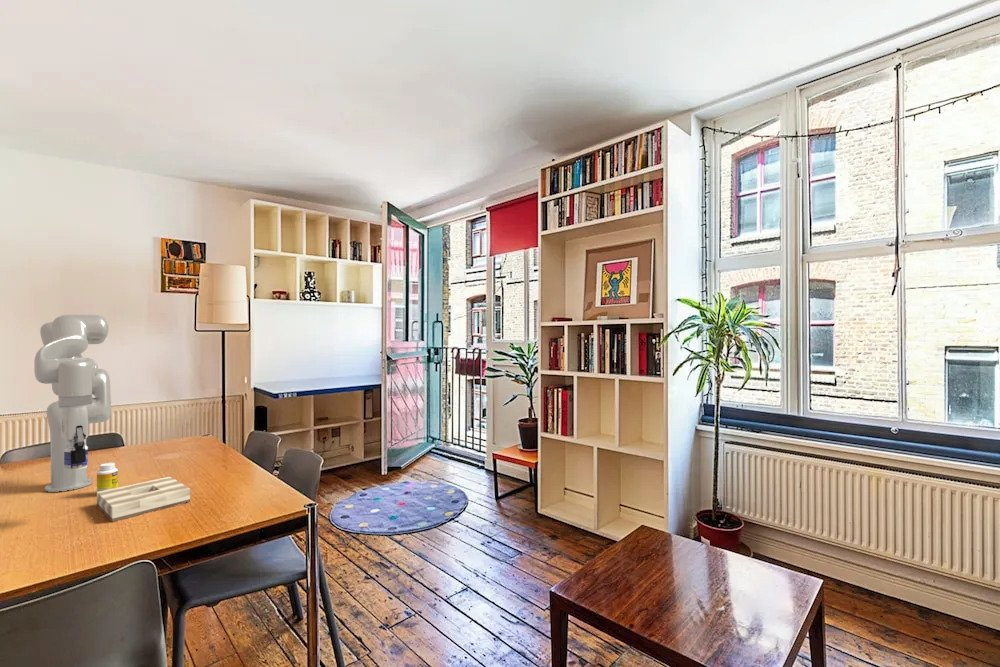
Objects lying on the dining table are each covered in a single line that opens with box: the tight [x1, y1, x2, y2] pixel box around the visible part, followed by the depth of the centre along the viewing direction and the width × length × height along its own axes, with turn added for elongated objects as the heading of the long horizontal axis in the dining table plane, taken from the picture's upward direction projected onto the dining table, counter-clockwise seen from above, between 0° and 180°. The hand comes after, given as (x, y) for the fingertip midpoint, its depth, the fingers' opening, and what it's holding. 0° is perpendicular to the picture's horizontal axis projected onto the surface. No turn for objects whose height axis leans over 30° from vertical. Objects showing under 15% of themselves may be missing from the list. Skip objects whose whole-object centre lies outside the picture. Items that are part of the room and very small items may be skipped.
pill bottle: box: [64, 438, 89, 471], centre depth 139 cm, size 5×5×9 cm
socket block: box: [96, 476, 191, 523], centre depth 150 cm, size 20×20×4 cm
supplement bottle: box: [96, 462, 119, 493], centre depth 160 cm, size 6×6×10 cm
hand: (76, 460), depth 139 cm, fingers closed on pill bottle, 5 cm apart
